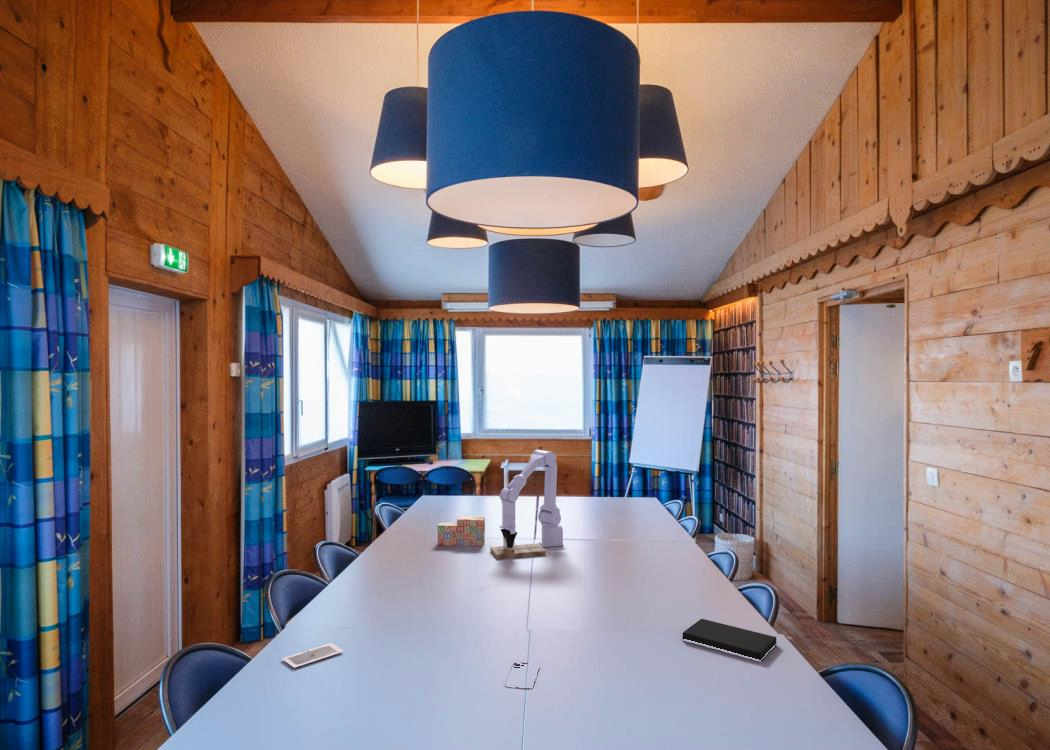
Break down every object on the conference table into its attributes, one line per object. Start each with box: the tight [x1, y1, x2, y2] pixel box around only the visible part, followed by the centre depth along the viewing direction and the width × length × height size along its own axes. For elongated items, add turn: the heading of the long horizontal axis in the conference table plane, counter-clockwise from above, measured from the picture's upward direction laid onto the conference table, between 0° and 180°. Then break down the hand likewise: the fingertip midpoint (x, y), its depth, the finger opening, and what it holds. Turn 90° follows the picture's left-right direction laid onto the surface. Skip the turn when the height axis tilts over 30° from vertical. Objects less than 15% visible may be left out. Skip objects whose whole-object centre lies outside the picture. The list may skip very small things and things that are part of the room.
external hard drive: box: [682, 618, 777, 660], centre depth 196 cm, size 14×23×3 cm, turn 52°
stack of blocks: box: [437, 516, 486, 547], centre depth 305 cm, size 21×6×12 cm, turn 86°
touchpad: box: [281, 642, 345, 669], centre depth 186 cm, size 8×15×2 cm, turn 134°
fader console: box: [489, 543, 547, 560], centre depth 290 cm, size 22×12×3 cm, turn 106°
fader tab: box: [502, 536, 516, 551], centre depth 288 cm, size 4×4×5 cm
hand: (508, 546), depth 288 cm, fingers closed on fader tab, 4 cm apart
